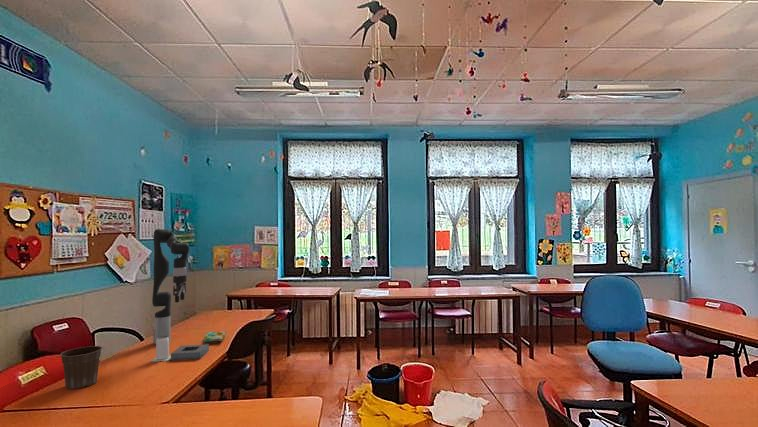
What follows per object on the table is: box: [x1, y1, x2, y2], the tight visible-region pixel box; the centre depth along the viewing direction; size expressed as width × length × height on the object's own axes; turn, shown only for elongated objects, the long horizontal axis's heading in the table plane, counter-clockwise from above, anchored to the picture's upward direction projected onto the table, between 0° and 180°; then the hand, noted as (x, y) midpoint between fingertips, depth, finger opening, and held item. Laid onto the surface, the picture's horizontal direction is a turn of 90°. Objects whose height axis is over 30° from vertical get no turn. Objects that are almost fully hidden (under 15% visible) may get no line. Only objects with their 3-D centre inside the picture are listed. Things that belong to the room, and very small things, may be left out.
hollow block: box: [170, 343, 210, 362], centre depth 234 cm, size 16×16×4 cm
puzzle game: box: [201, 330, 227, 345], centre depth 266 cm, size 12×5×20 cm
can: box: [155, 336, 170, 360], centre depth 229 cm, size 6×6×12 cm
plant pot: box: [59, 345, 103, 390], centre depth 191 cm, size 16×16×16 cm
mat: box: [150, 355, 171, 363], centre depth 228 cm, size 9×9×1 cm
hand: (179, 301), depth 247 cm, fingers open, 8 cm apart
